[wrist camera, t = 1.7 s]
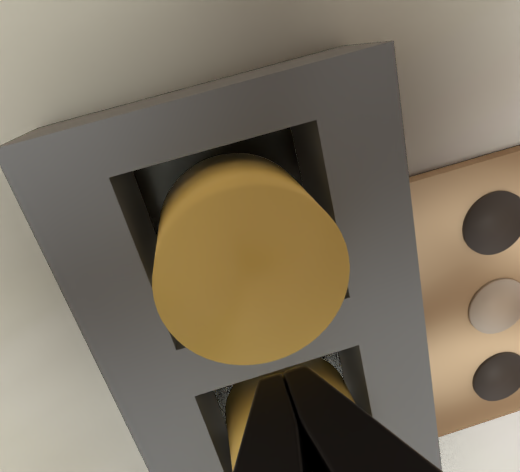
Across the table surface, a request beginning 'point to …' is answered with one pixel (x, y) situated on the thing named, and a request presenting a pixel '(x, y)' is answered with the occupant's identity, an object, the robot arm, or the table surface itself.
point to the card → (471, 285)
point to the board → (144, 243)
